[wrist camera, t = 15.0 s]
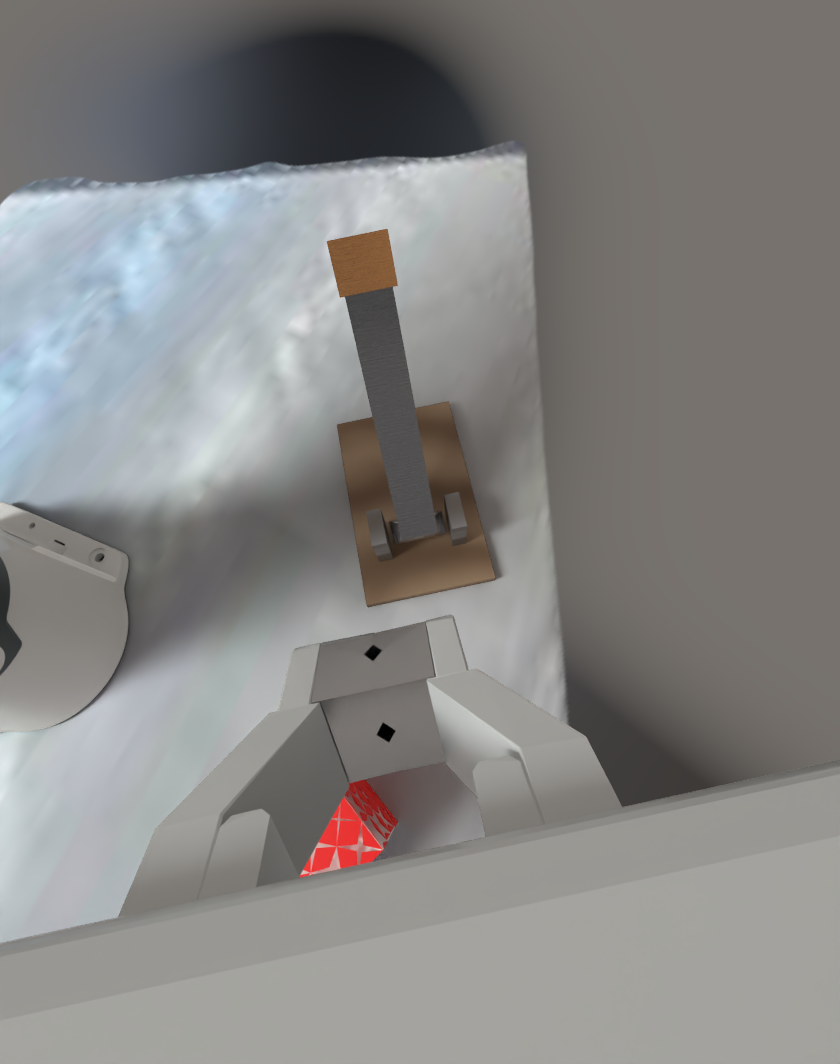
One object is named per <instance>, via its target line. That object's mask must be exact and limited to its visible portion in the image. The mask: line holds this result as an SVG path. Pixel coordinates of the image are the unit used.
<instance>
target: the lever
mask: <svg viewBox="0 0 840 1064" xmlns="http://www.w3.org/2000/svg"><path fill="white" fill-rule="evenodd" d="M327 244H328V249H329V253H330V257H331V261H332V265H333V270H334V274H335V278H336V282H337V287H338V291H339V295H340V297H345V299H346V303H347V307H348V312H349V316H350V320H351V325H352V329H353V333H354V338H355V342H356V346H357V350H358V355H359V359H360V363H361V368H362V372H363V376H364V381H365V385H366V389H367V394H368V398H369V402H370V407H371V411H372V415H373V420H374V424H375V428H376V433H377V437H378V441H379V446H380V450H381V454H382V459H383V463H384V467H385V472H386V476H387V480H388V485H389V489H390V493H391V498H392V502H393V506H394V511H395V515H396V519H397V520H393V521H389V525H390V530H391V535H392V539H393V543H394V545H396V544H401V543H405V542H410V541H415V540H419V539H424V538H429V537H434V536H438V535H443V534H446V528H445V523H444V518H443V514H442V511H441V510H440V511H435V512H434V509H433V503H432V498H431V492H430V487H429V482H428V476H427V471H426V465H425V460H424V454H423V449H422V444H421V438H420V433H419V427H418V422H417V416H416V411H415V406H414V400H413V395H412V389H411V384H410V378H409V373H408V368H407V362H406V357H405V351H404V346H403V340H402V335H401V330H400V324H399V319H398V313H397V308H396V302H395V297H394V292H393V286H398V285H397V279H396V274H395V268H394V262H393V257H392V251H391V246H390V240H389V235H388V229H384V230H379V231H374V232H370V233H365V234H360V235H355V236H350V237H345V238H340V239H336V240H331V241H327Z"/></svg>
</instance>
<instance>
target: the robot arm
mask: <svg viewBox="0 0 840 1064" xmlns="http://www.w3.org/2000/svg"><path fill="white" fill-rule="evenodd" d="M103 556H104V559H103V560H102V561H101V562H100V559H101V558H102V557H103ZM128 566H129V560H128V557H127V555H126V554H125V553H123V552H122V551H119V550H117V549H115V548H112V547H110V546H108V545H105V544H103V543H101V542H98V541H96V540H94V539H91V538H89V537H87V536H84V535H82V534H80V533H77V532H75V531H73V530H70V529H68V528H66V527H63V526H61V525H59V524H56V523H54V522H52V521H49V520H47V519H45V518H42V517H40V516H37V515H35V514H33V513H30V512H28V511H26V510H23V509H21V508H19V507H16V506H13V505H10V504H7V503H4V502H1V503H0V733H1V732H28V731H36V730H41V729H45V728H48V727H51V726H53V725H56V724H58V723H60V722H63V721H64V720H66V719H68V718H70V717H71V716H73V715H75V714H76V713H77V712H79V711H80V710H82V709H83V708H84V707H85V706H86V705H88V704H89V703H90V702H91V701H92V700H93V699H94V698H95V697H96V696H97V695H98V694H99V692H100V691H101V690H102V689H103V688H104V686H105V685H106V684H107V682H108V681H109V679H110V678H111V676H112V675H113V673H114V671H115V669H116V667H117V666H118V663H119V661H120V659H121V656H122V654H123V651H124V647H125V644H126V639H127V633H128V611H127V605H126V600H125V594H124V586H125V582H126V577H127V573H128ZM426 624H427V626H426ZM445 762H446V764H447V766H448V767H449V768H450V769H451V770H452V771H453V772H454V773H455V774H456V775H457V776H458V778H459V779H460V780H461V781H462V782H463V783H464V784H465V785H466V786H467V787H468V788H469V789H470V790H471V792H472V793H473V794H474V795H475V796H476V797H477V798H478V802H479V807H480V812H481V817H482V822H483V827H484V832H485V837H483V838H479V839H474V840H469V841H465V842H460V843H456V844H451V845H446V846H442V847H437V848H433V849H428V850H423V851H419V852H414V853H410V854H405V855H401V856H396V857H391V858H387V859H382V860H378V861H373V862H369V863H364V864H359V865H355V866H350V867H346V868H341V869H337V870H332V871H327V872H323V873H318V874H314V875H309V876H304V877H300V878H299V876H300V875H301V873H302V871H303V869H304V867H305V866H306V864H307V862H308V860H309V858H310V857H311V855H312V853H313V851H314V849H315V848H316V846H317V844H318V842H319V840H320V839H321V837H322V835H323V833H324V831H325V830H326V828H327V826H328V824H329V822H330V821H331V819H332V817H333V815H334V813H335V812H336V810H337V808H338V806H339V804H340V803H341V801H342V799H343V797H344V795H345V794H346V792H347V790H348V788H349V784H348V783H352V782H357V781H361V780H365V779H369V778H373V777H377V776H381V775H385V774H389V773H393V772H397V771H402V770H408V769H413V768H418V767H424V766H429V765H434V764H440V763H445ZM0 1064H840V760H836V761H832V762H827V763H823V764H818V765H814V766H809V767H804V768H800V769H795V770H790V771H786V772H781V773H777V774H772V775H768V776H763V777H759V778H754V779H749V780H745V781H740V782H736V783H731V784H726V785H722V786H717V787H713V788H708V789H704V790H699V791H694V792H690V793H686V794H681V795H676V796H672V797H667V798H663V799H658V800H653V801H649V802H644V803H640V804H635V805H631V806H626V807H622V806H621V804H620V802H619V800H618V798H617V796H616V794H615V792H614V790H613V788H612V786H611V785H610V783H609V781H608V779H607V777H606V775H605V773H604V771H603V769H602V767H601V765H600V763H599V761H598V759H597V757H596V755H595V753H594V751H593V750H592V748H591V746H590V744H589V742H588V740H587V738H586V737H585V736H584V735H582V734H581V733H579V732H578V731H576V730H574V729H573V728H571V727H570V726H568V725H566V724H565V723H563V722H562V721H560V720H558V719H557V718H555V717H554V716H552V715H550V714H549V713H547V712H546V711H544V710H542V709H541V708H539V707H538V706H536V705H534V704H533V703H531V702H530V701H528V700H526V699H525V698H523V697H522V696H520V695H518V694H517V693H515V692H514V691H512V690H510V689H509V688H507V687H506V686H504V685H502V684H501V683H499V682H498V681H496V680H494V679H493V678H491V677H490V676H488V675H486V674H485V673H483V672H482V671H480V670H478V669H472V670H468V666H467V662H466V659H465V655H464V652H463V648H462V645H461V641H460V637H459V634H458V630H457V627H456V623H455V620H454V617H453V616H452V615H447V616H443V617H439V618H435V619H431V620H427V621H426V622H421V623H416V624H412V625H408V626H404V627H399V628H395V629H391V630H386V631H382V632H378V633H369V634H364V635H359V636H354V637H349V638H343V639H338V640H333V641H328V642H323V643H322V644H321V643H317V644H313V645H308V646H304V647H299V648H296V649H295V650H294V651H293V652H292V654H291V658H290V662H289V666H288V670H287V675H286V679H285V683H284V687H283V691H282V695H281V700H280V704H279V708H278V711H276V712H272V713H269V714H268V715H267V716H266V717H265V718H264V719H263V720H262V721H261V722H260V723H259V724H258V725H257V726H256V727H255V728H254V729H253V730H252V731H251V732H250V733H249V734H248V735H247V736H246V737H245V738H244V740H243V741H242V742H241V743H240V744H239V745H238V746H237V747H236V748H235V749H234V750H233V751H232V752H231V753H230V754H229V755H228V756H227V757H226V758H225V759H224V760H223V761H222V762H221V763H220V764H219V765H218V766H217V767H216V768H215V769H214V770H213V771H212V772H211V773H210V774H209V775H208V776H207V777H206V778H205V779H204V780H203V781H202V782H201V783H200V784H199V785H198V786H197V787H196V788H195V789H194V790H193V791H192V792H191V793H190V794H189V795H188V796H187V797H186V798H185V799H184V800H183V801H182V802H181V803H180V804H179V805H178V806H177V807H176V809H175V810H174V811H173V812H172V813H171V814H170V815H169V816H168V817H167V818H166V819H165V820H164V821H163V822H162V823H161V824H160V825H159V826H158V827H157V828H156V829H155V831H154V833H153V836H152V838H151V840H150V843H149V845H148V848H147V850H146V852H145V855H144V857H143V859H142V862H141V864H140V866H139V869H138V871H137V873H136V876H135V878H134V881H133V883H132V885H131V888H130V890H129V892H128V895H127V897H126V899H125V902H124V904H123V907H122V909H121V911H120V914H119V916H118V917H117V918H112V919H108V920H103V921H98V922H94V923H89V924H85V925H80V926H76V927H71V928H66V929H62V930H57V931H53V932H48V933H43V934H39V935H34V936H30V937H25V938H21V939H16V940H11V941H7V942H2V943H0Z"/></svg>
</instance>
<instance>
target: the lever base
mask: <svg viewBox="0 0 840 1064" xmlns="http://www.w3.org/2000/svg"><path fill="white" fill-rule="evenodd" d="M415 411H416V416H417V422H418V427H419V433H420V438H421V444H422V449H423V454H424V460H425V465H426V471H427V476H428V482H429V487H430V492H431V498H432V503H433V509H434V512H435V511H440V510H441V511H442V514H443V518H444V523H445V528H446V534H443V535H438V536H434V537H429V538H424V539H419V540H415V541H410V542H405V543H401V544H396V545H394V543H393V539H392V535H391V530H390V525H389V521H393V520H397V519H396V515H395V511H394V506H393V502H392V498H391V493H390V489H389V485H388V480H387V476H386V472H385V467H384V463H383V459H382V454H381V450H380V446H379V441H378V437H377V433H376V428H375V424H374V420H373V417H371V418H366V419H362V420H357V421H352V422H347V423H343V424H338V425H337V428H338V434H339V440H340V446H341V452H342V458H343V464H344V470H345V477H346V483H347V489H348V495H349V501H350V507H351V513H352V519H353V525H354V531H355V537H356V543H357V550H358V556H359V562H360V568H361V574H362V580H363V586H364V592H365V598H366V604H367V606H368V607H371V606H376V605H381V604H386V603H390V602H395V601H400V600H404V599H409V598H414V597H418V596H423V595H428V594H432V593H437V592H442V591H446V590H451V589H456V588H460V587H465V586H470V585H475V584H479V583H484V582H489V581H493V580H495V574H494V570H493V567H492V563H491V559H490V555H489V552H488V548H487V544H486V540H485V537H484V533H483V529H482V525H481V522H480V518H479V514H478V510H477V507H476V503H475V499H474V495H473V492H472V488H471V484H470V480H469V476H468V473H467V469H466V465H465V461H464V458H463V454H462V450H461V446H460V443H459V439H458V435H457V431H456V428H455V424H454V420H453V416H452V413H451V409H450V405H449V401H448V402H443V403H438V404H433V405H429V406H424V407H419V408H415Z"/></svg>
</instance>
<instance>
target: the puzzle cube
mask: <svg viewBox="0 0 840 1064" xmlns="http://www.w3.org/2000/svg"><path fill="white" fill-rule="evenodd" d="M348 784H349V788H348V790H347V792H346V794H345V795H344V797H343V799H342V801H341V803H340V804H339V806H338V808H337V810H336V812H335V813H334V815H333V817H332V819H331V821H330V822H329V824H328V826H327V828H326V830H325V831H324V833H323V835H322V837H321V839H320V840H319V842H318V844H317V846H316V848H315V849H314V851H313V853H312V855H311V857H310V858H309V860H308V862H307V864H306V866H305V867H304V869H303V871H302V873H301V875H300V876H299V878H300V877H304V876H309V875H314V874H318V873H323V872H327V871H332V870H337V869H341V868H346V867H350V866H355V865H359V864H364V863H369V862H372V861H373V860H374V859H375V858H376V857H377V856H378V855H379V854H380V853H381V852H382V851H383V850H384V848H385V846H386V844H387V842H388V840H389V838H390V836H391V834H392V833H393V831H394V829H395V827H396V825H397V823H398V821H397V820H396V819H395V818H394V816H393V815H392V814H391V813H390V811H389V810H388V809H387V807H386V806H385V805H384V804H383V802H382V801H381V800H380V798H379V797H378V796H377V795H376V793H375V792H374V791H373V789H372V788H371V787H370V786H369V784H368V783H367V782H366V780H361V781H357V782H352V783H348Z"/></svg>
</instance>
